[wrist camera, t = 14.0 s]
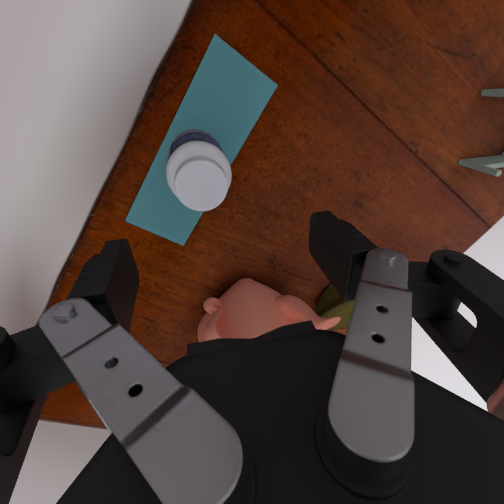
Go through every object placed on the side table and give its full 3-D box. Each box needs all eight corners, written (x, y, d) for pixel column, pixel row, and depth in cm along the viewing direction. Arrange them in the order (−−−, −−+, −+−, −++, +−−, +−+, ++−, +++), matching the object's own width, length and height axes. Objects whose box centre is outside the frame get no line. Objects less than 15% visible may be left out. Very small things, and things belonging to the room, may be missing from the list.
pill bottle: (158, 140, 28) (149, 166, 20) (209, 119, 28) (221, 137, 20) (183, 189, 31) (184, 230, 23) (229, 171, 31) (246, 204, 23)
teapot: (301, 257, 39) (345, 323, 29) (291, 340, 48) (322, 414, 37) (191, 269, 37) (195, 346, 26) (201, 354, 45) (207, 439, 35)
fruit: (338, 249, 40) (363, 276, 34) (399, 266, 44) (430, 293, 39) (302, 309, 45) (319, 342, 39) (360, 320, 49) (383, 350, 43)
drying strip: (214, 33, 25) (214, 33, 24) (277, 85, 28) (277, 85, 27) (125, 220, 31) (124, 221, 31) (183, 244, 34) (183, 246, 34)
